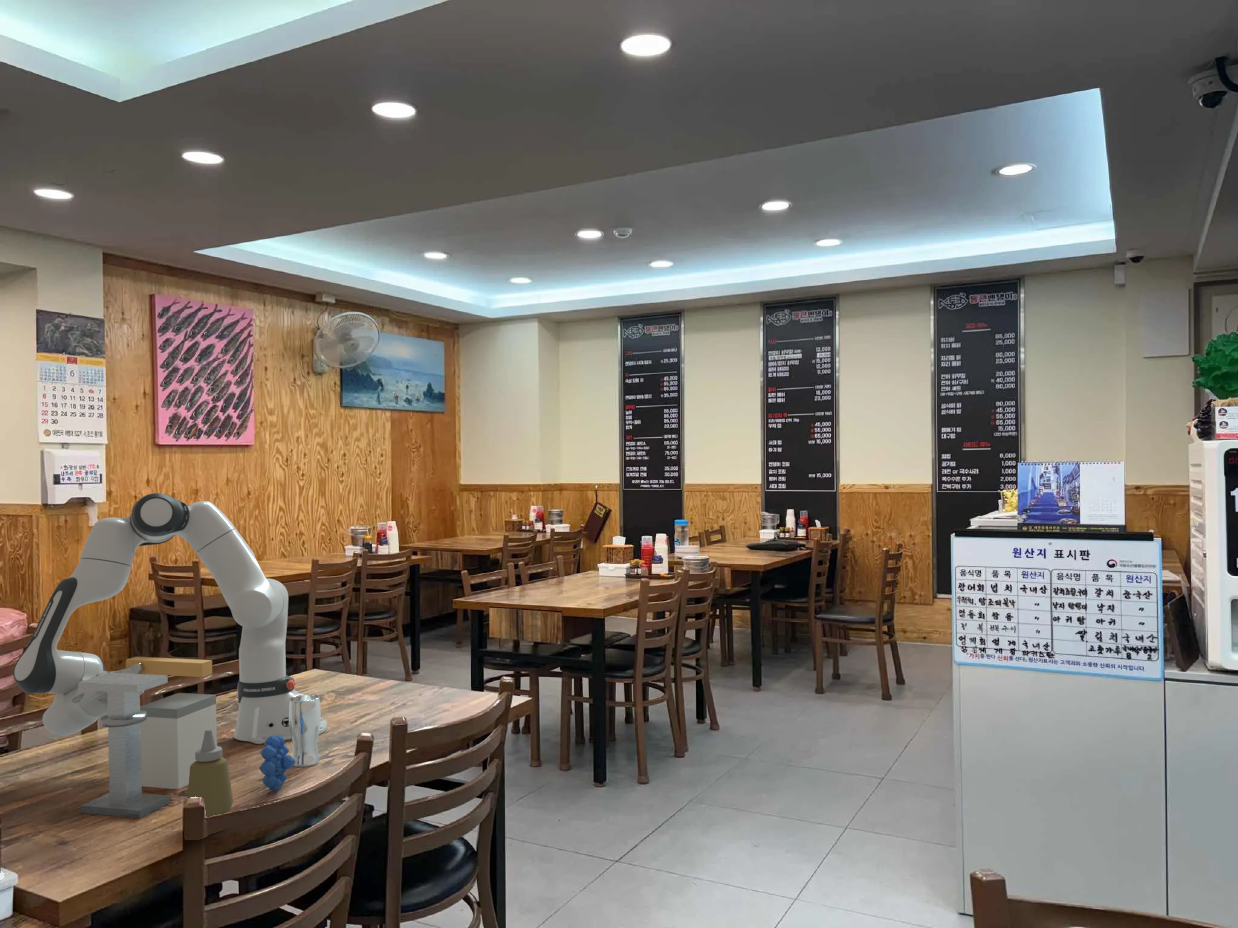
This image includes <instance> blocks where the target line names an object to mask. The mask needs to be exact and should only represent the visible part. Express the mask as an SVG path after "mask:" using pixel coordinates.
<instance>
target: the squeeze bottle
mask: <svg viewBox="0 0 1238 928" xmlns="http://www.w3.org/2000/svg"><path fill="white" fill-rule="evenodd" d="M195 760H196V761H195V762H193V763H192V764H191V766H190V774H189V785H187V786H188V788H187V798H190V797H195V796H196V797H202V798H203V799H204V803H205V810H206V816H207V817H210V816H213V815H218V814H224V813H227V812H230V813H231V809H232V807H233V803H234V800H233V789H232V783H231V777H230V776H231V775H230V768H229V762H228V759H226V757H224V756H223V748H222V747H221V746H218V745H217V746H216V744H215V740H214V737H213V733H212V730H205V733H204V738H203V743H202V748H200V749H198V750H196V752H195ZM187 798H186V799H187Z"/></svg>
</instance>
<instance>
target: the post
mask: <svg viewBox="0 0 1238 928" xmlns="http://www.w3.org/2000/svg"><path fill="white" fill-rule="evenodd" d="M168 676H169V675H149V674H127V673H108V674H105V675H101V676H98V677H94V678H91V679H87V680H84V681H81V682H78V689H79V690H95V691H107V693H108V714H107V715H105V716H102V717H100V721H101V722H100V723H101V724H100V725H101V726H102V727H104V728H108V729H107V731H108V732H107V733H108V734H107V735H108V736H107V737H108V738H107V739H108V741H107V742H108V781H109V782H108V785H109V787H108V788H109V790H108V791H109V792H108V793H107V792H106V793H105V794H104V795H101V796H99V797H96V798H95V799H91V800H90V801H88V802H85V803H83V804H81V805H80V813H81V814H87V815H97V814H99V816H108V815H113V816H112V817H119V818H129V817H133V818H132V819H141V817H142V818H143V817H146V816H147V814H148V815H149V814H151V812H152V813H153V811H154V812H156V811H157V810H159V809H161V808H163V807H165V806H167V805H169V804H171V795H166V794H156V793H155V794H152V793H143V788H142V787H143V786H142V777H141V728H140V723H141V722H143V721H145V720H146V719H147V712H146V711H143V710H140V706H141V695H140V692H141V691H144V692H145V691H147V690H149V689H150V690H151V689H152V688H156V687H158V686H162V685H165V684H168V680H169V679H168V678H169V677H168ZM166 804H167V805H166ZM100 814H102V815H100ZM145 815H146V816H145Z"/></svg>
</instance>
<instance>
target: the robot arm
mask: <svg viewBox="0 0 1238 928" xmlns="http://www.w3.org/2000/svg"><path fill="white" fill-rule="evenodd" d="M175 536H177V537H180V538H182V539H184V540H185V541H186V542H187V543H188V544H189V546H190V547H191V548H192V550H193V551H194V553H195V554H196V555H197V557H198V558H199V559H200V561H201V562H202V564H204V566H205V568H206V569H207V570H208V572H209V573H210V575H211V576H212V577H213V578H212V579H214V580H215V583H216V584H217V586H218V588H219V590H220V593H221V594H222V596H223V598H224V600H225V603H226V604H227V606H228V608H229V609H230V611H231V615H232V618H233V619H234V621H235V622H236V623H237V624H238V625H240V626H241V627H242V628H241V635H240V636H241V638H240V644H239V648H238V661H239V663H238V665H239V666H238V667H239V679H238V681H237V701H238V713H237V721H236V726H235V731H234V734H233V738H234V739H235V740H237V741H241V742H250V743H253V744H258V745H261V744H264V743H265V741H266V740H267V738H268V737H270V736H272V735H274V736H275V735H280V736H282V737H283V739H284V740H285V741H287V740H292V737H291V733H290V727H289V699H290V698H291V697H294V696H297V695H303V693H301V692H299V691H297V690H296V689H295V687H296V686H295V685H296V682H295V678H294V676H293V675H292V676H290V675H287V673H286V672H287V669H286V668H287V667H286V666H287V663H286V658H287V657H286V640H287V628H288V618H289V617H288V615H289V614H288V613H289V611H288V610H289V592H288V590H287V587H286V586H285V585H284V584H283V583H281V582H280V581H278V580H276V579H273V578H267V577H266V576H265V574H264V572H263V570H262V568H261V566H260V565H259V563H258V560H257V559H256V555H255V553H254V551H253V550H252V548H251V547H250V546H249V545H248V543H247V542H246V540H245V539H244V538H243V536H242V535H241V533H240V532H239V531H238V529H237V528H236V527H235V526H234V524H233V523H232V522H231V520H230V519H229V518H228V517H227V516H226V515H225V513H224V512H222V511H221V509H220V508H219V507H217V506H216V505H215V504H214V503H213V502H211V501H208V500H199V501H196V502H193V503H190V505H188V504H187V503H185V502H183V501H182V500H179V499H176V498H175V497H173V496H170V495H168V494H164V493H160V492H155V493H154V492H153V493H152V492H151V493H149V494H146V495H144V496H142V497H140V498H139V499H138V500H137V501H136V502H135V503H134V505H133V507H132V510H131V514H130V515H128V516H127V517H122V518H120V517H113V516H112V517H104V518H101V519H99V520H97V521H96V522H95V523H94V524H93V527H92V528H91V529H90V532H89V534H88V536H87V538H86V541H85V543H84V545H83V548H82V551H81V555H80V557H79V561H78V563H77V566H76V567H75V570H74V571H73V572H72V574H71V575H70V576H69V577H68V578H65V579H63V580H61V581H60V582H59V583H58V584H57V585H56V587H55V589H54V590H53V592H52V594H51V596H50V598H49V600H48V602H47V604H46V606H45V608H44V610H43V612H42V614H41V616H40V619H39V621H38V623H37V625H36V627H35V629H34V632H33V634H32V636H31V638H30V640H29V642H28V644H27V646H26V647H25V649H24V650H23V652H22V653H21V655H20V656H19V657H18V659H17V661H16V663H15V666H14V669H13V674H12V675H13V679H14V681H15V683H16V685H17V686H18V687H19V689H20V690H21V691H22V692H24V693H25V694H28V695H30V694H32V695H33V694H35V695H36V694H55V696H54V699H53V701H52V703H51V704H50V706H49V707H48V708H47V710H46V711H45V712H44V713H43V715H42V724H43V725H44V728H45V729H46V730H47V731H48V732H50V733H51V734H53V735H57V736H62V737H63V736H65V737H66V736H70V735H73V734H76V733H78V732H80V731H82V730H85V729H86V728H88V727H90V726H91V725H93V724H94V723H95V722H96V721H97V720H98V719H100V718H102V717H103V716H105V715H108V693H107V691H95V690H79V689H78V682H81V681H84V680H87V679H91V678H94V677H98V676H101V675H105V674H108V673H127V674H137V673H140V672H141V671H143V670H144V669H145V667H144V666H143V663H138V664H135V665H133V666H132V667H130V668H127V669H126V667H125V668H122V669H119V670H114V671H108V670H106V667H105V664H104V662H103V659H102V658H101V657H100V656H99V655H97V654H95V653H88V652H82V651H70V650H63V649H62V650H61V649H58V647H57V646H58V643H59V642H60V639H61V637H62V635H63V633H64V630H65V629H66V626H67V624H68V622H69V619H70V617H71V615H72V614H73V613H74V612H75V611H76V610H77V609H78V608H80V607H82V606H85V605H87V604H88V605H89V604H92V603H95V602H100V601H101V602H102V601H105V600H108V599H110V598H112V597H114V596H116V595H118V594H119V593H120V592H122V591H123V590H124V588H125V587H126V585H127V583H128V581H129V578H130V573H131V569H132V566H133V562H134V557H135V555H136V551H137V550H138V548H139V547H143V546H154V545H155V546H156V545H161V544H163V543H166V542H168V541H170V540H172V539H173V538H174V537H175ZM149 675H153V674H149ZM143 693H145V690H144V691H141V692H140V696H141V695H143ZM327 729H328V722H327V719H326V718H323V717H321V722H320V730H319V735H321V734H323V733H324V732H325V731H326V730H327Z"/></svg>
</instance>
